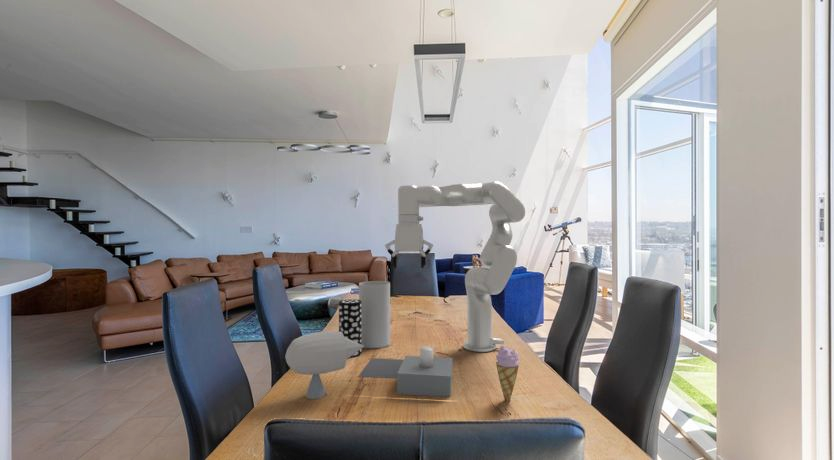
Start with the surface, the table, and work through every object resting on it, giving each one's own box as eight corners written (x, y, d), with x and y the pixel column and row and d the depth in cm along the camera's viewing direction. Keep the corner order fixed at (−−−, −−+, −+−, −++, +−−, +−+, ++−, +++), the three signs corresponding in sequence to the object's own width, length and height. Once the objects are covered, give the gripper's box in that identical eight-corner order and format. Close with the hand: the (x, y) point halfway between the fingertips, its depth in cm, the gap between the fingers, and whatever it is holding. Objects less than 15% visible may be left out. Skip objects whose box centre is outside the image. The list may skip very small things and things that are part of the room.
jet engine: (353, 406, 105) (352, 340, 105) (279, 404, 107) (279, 338, 107) (365, 384, 120) (365, 326, 120) (300, 382, 122) (300, 325, 122)
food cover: (452, 377, 125) (452, 342, 125) (450, 397, 111) (451, 358, 110) (405, 374, 127) (405, 340, 127) (397, 394, 112) (397, 355, 112)
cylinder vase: (396, 343, 164) (396, 282, 164) (377, 351, 153) (377, 286, 153) (372, 339, 170) (372, 280, 170) (352, 346, 160) (352, 283, 160)
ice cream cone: (492, 395, 112) (492, 342, 112) (514, 394, 113) (514, 341, 113) (499, 405, 106) (499, 349, 106) (522, 404, 106) (522, 348, 106)
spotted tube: (357, 359, 144) (356, 303, 144) (335, 357, 145) (335, 303, 145) (364, 352, 152) (364, 299, 152) (344, 351, 153) (343, 299, 153)
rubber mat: (421, 361, 141) (421, 360, 141) (414, 380, 123) (414, 379, 123) (371, 359, 143) (371, 358, 143) (357, 377, 126) (357, 376, 126)
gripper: (433, 220, 146) (433, 266, 146) (386, 220, 148) (387, 266, 148) (432, 219, 139) (432, 268, 139) (383, 220, 141) (383, 268, 141)
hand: (409, 267), depth 144 cm, fingers open, 9 cm apart
